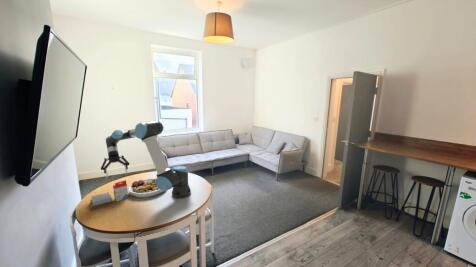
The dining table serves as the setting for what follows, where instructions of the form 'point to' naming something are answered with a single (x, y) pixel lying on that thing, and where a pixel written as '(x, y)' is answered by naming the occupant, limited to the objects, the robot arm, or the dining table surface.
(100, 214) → the dining table surface
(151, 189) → the bowl
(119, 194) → the ink box
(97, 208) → the tower base
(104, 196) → the tower top
